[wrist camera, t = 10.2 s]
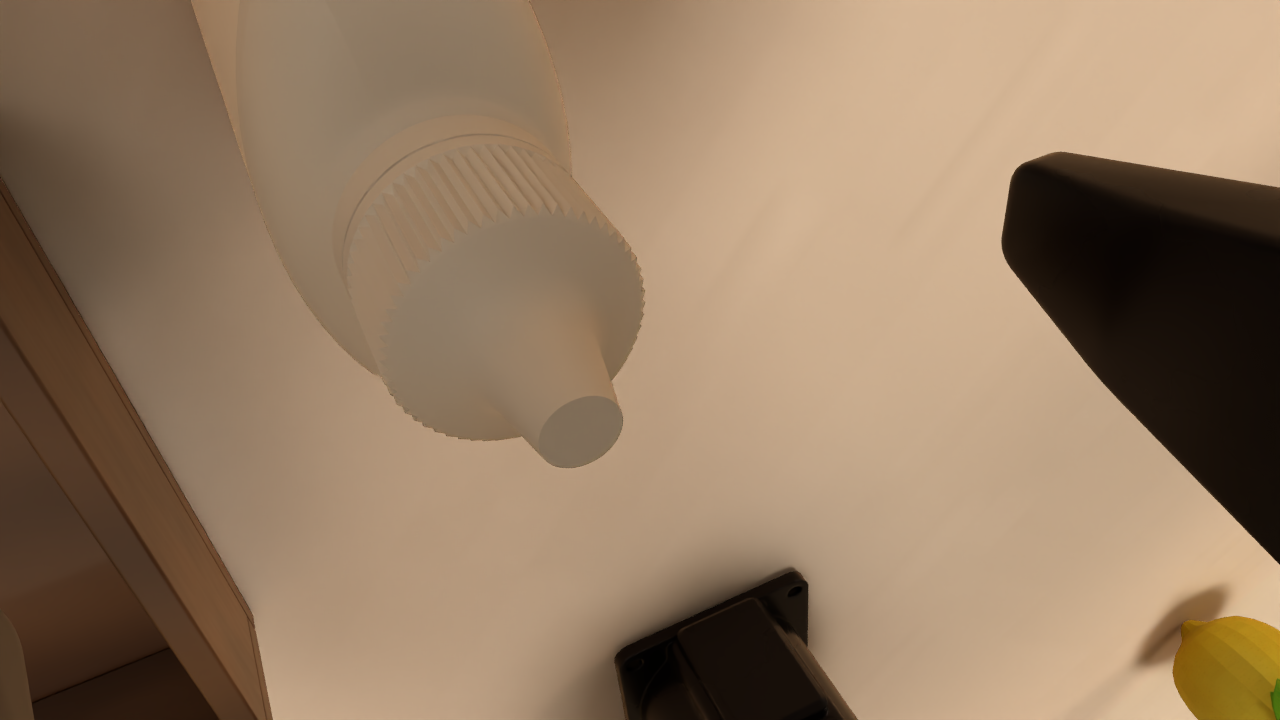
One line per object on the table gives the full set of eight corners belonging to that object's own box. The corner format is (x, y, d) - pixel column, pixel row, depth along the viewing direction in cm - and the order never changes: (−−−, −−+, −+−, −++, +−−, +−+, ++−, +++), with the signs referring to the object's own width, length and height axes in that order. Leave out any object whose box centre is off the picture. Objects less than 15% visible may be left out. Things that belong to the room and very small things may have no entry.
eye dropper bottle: (114, 101, 16) (188, 703, 8) (199, -276, 14) (441, -26, 5) (376, 167, 19) (656, 676, 10) (484, -144, 17) (961, 171, 8)
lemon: (1196, 654, 53) (1378, 825, 45) (1115, 685, 50) (1293, 871, 43) (1256, 562, 49) (1465, 733, 42) (1172, 590, 46) (1378, 777, 39)
